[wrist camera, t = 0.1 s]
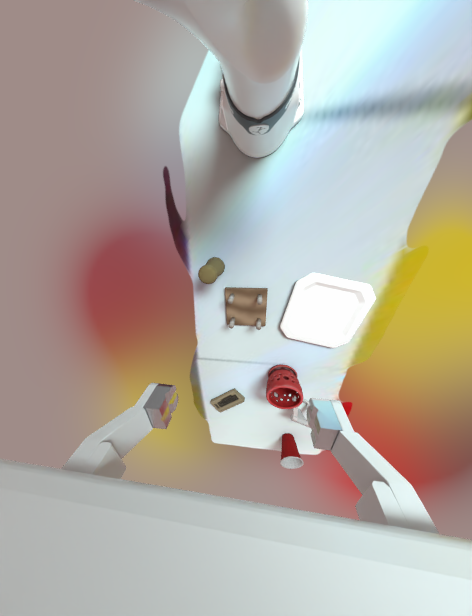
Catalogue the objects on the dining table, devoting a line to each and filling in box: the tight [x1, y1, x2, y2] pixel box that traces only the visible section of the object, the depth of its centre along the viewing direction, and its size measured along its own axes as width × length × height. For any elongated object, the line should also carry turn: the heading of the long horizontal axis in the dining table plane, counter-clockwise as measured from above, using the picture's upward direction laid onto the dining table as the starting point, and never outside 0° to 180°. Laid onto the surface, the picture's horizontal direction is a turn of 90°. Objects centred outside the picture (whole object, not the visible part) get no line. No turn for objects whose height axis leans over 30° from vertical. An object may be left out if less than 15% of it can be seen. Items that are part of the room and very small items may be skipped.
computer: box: [211, 389, 245, 412], centre depth 84 cm, size 16×8×3 cm, turn 131°
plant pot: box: [266, 365, 303, 409], centre depth 68 cm, size 13×13×12 cm
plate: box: [280, 273, 376, 348], centre depth 58 cm, size 25×25×2 cm
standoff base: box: [225, 287, 267, 330], centre depth 58 cm, size 14×14×6 cm
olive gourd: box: [198, 257, 225, 284], centre depth 51 cm, size 6×6×11 cm
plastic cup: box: [280, 434, 303, 469], centre depth 87 cm, size 11×11×12 cm
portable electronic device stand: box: [291, 396, 310, 427], centre depth 76 cm, size 9×8×8 cm
